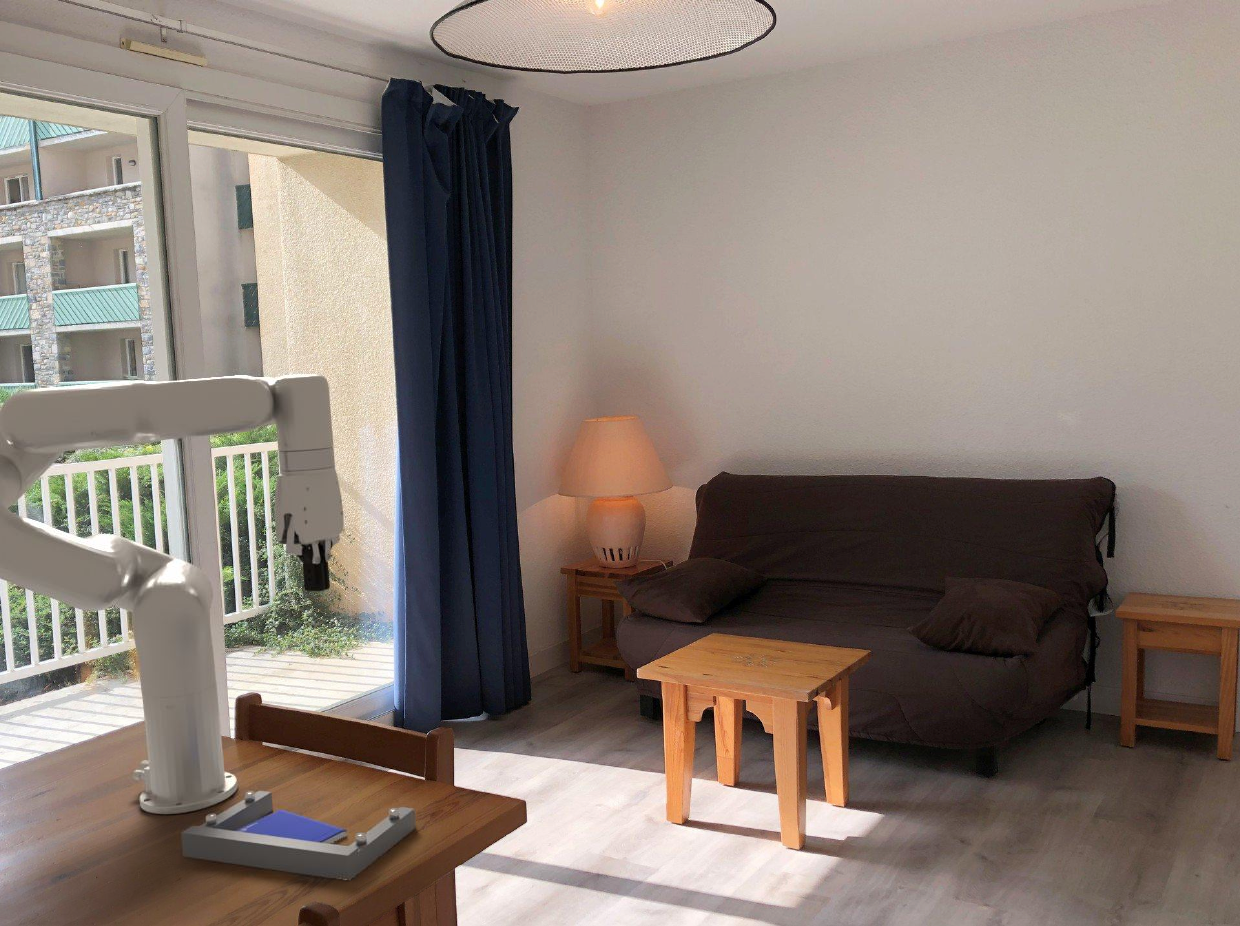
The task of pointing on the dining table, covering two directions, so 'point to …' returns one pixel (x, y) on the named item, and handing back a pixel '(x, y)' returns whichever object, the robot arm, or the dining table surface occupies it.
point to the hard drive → (294, 828)
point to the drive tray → (289, 842)
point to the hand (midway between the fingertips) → (317, 589)
